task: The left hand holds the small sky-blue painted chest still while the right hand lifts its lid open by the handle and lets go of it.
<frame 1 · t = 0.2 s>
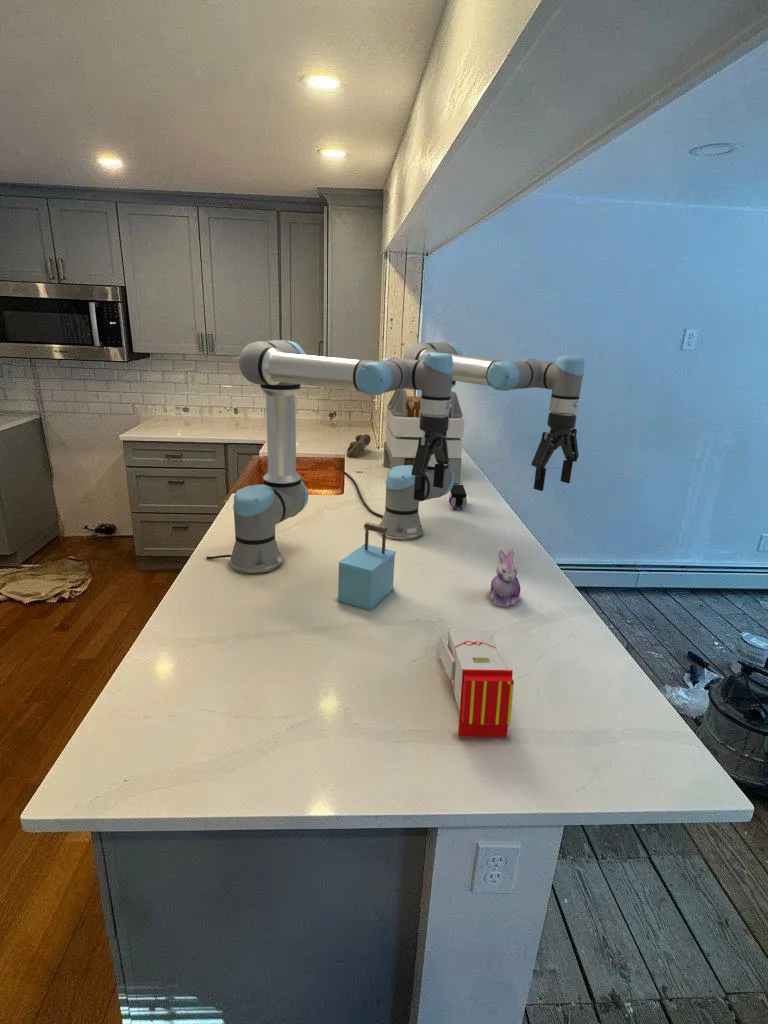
left hand: (428, 493, 154), 28 cm above the counter, tool pointing down, fingers open, 13 cm apart
right hand: (551, 485, 166), 28 cm above the counter, tool pointing down, fingers open, 13 cm apart
figurine: (504, 600, 157), on the counter
toy: (469, 691, 119), on the counter
white wooden crate: (419, 473, 275), on the counter
lid: (368, 544, 152), point 15 cm above the counter, hinge at 0.0°
chest: (366, 594, 157), on the counter
fossil: (358, 453, 307), on the counter
figurine character: (456, 506, 231), on the counter
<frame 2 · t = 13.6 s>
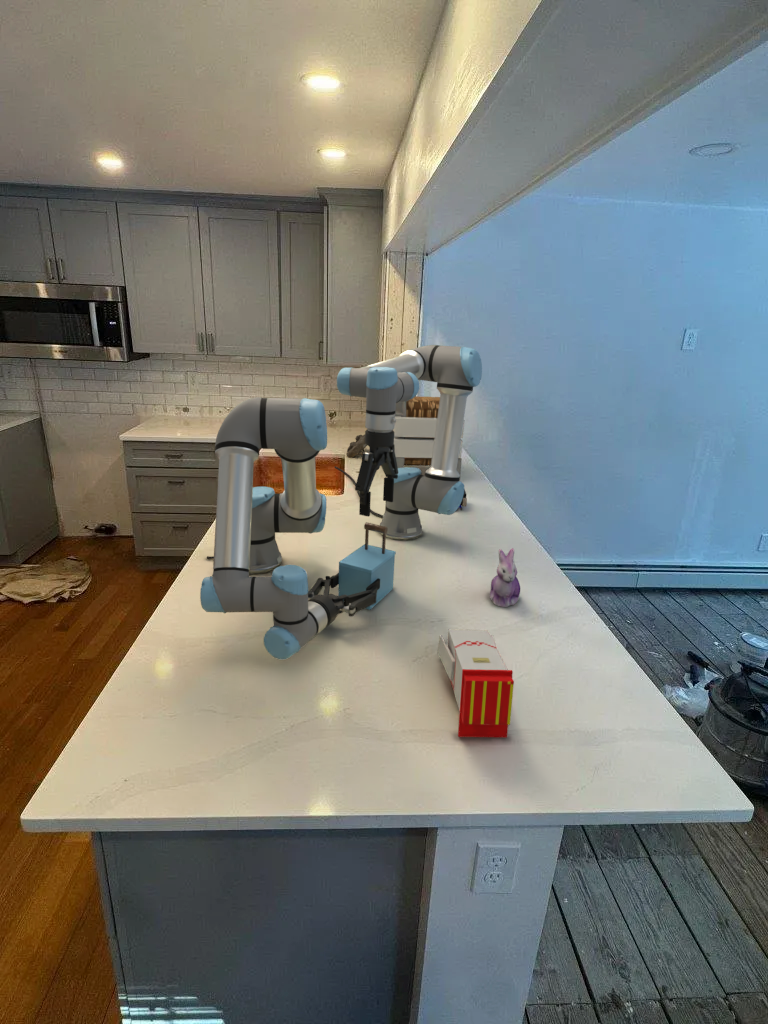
left hand: (361, 578, 152), 6 cm above the counter, tool horizontal, fingers closed on chest, 10 cm apart
right hand: (376, 508, 152), 24 cm above the counter, tool pointing down, fingers open, 13 cm apart
chest: (366, 594, 157), on the counter, touching left hand
everything else where it was.
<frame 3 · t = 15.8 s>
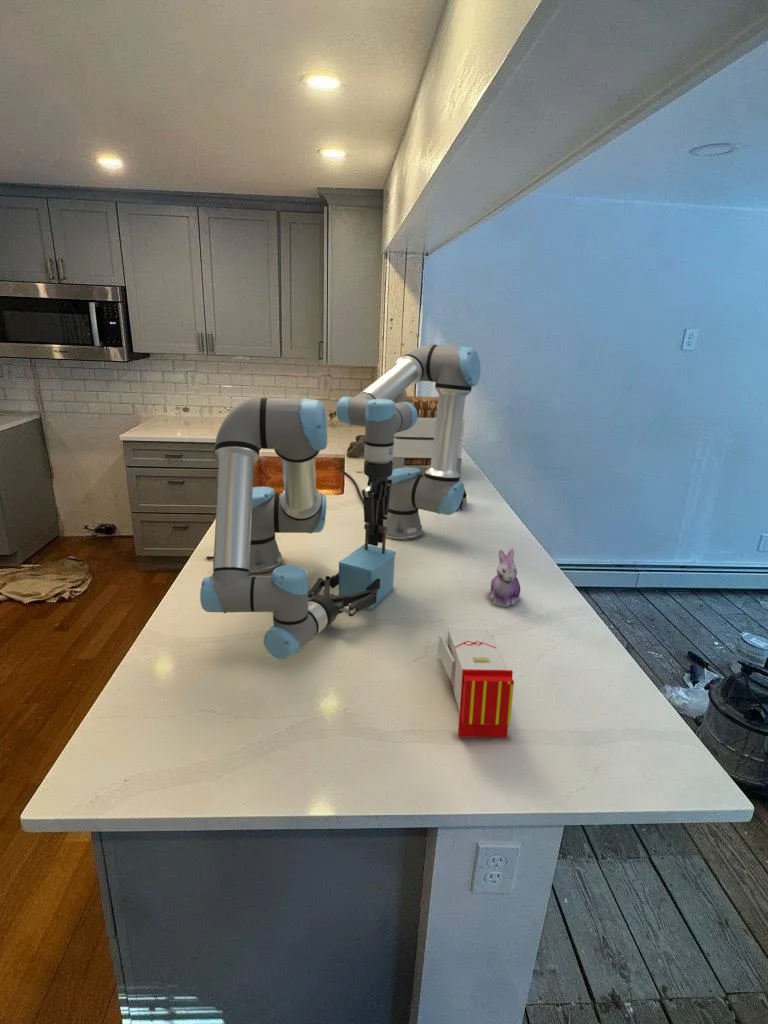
left hand: (361, 578, 152), 6 cm above the counter, tool horizontal, fingers closed on chest, 10 cm apart
right hand: (375, 543, 156), 14 cm above the counter, tool pointing down, fingers closed on lid, 2 cm apart
lid: (368, 544, 152), point 15 cm above the counter, hinge at -0.1°, touching right hand
chest: (366, 594, 157), on the counter, touching left hand
everything else where it was.
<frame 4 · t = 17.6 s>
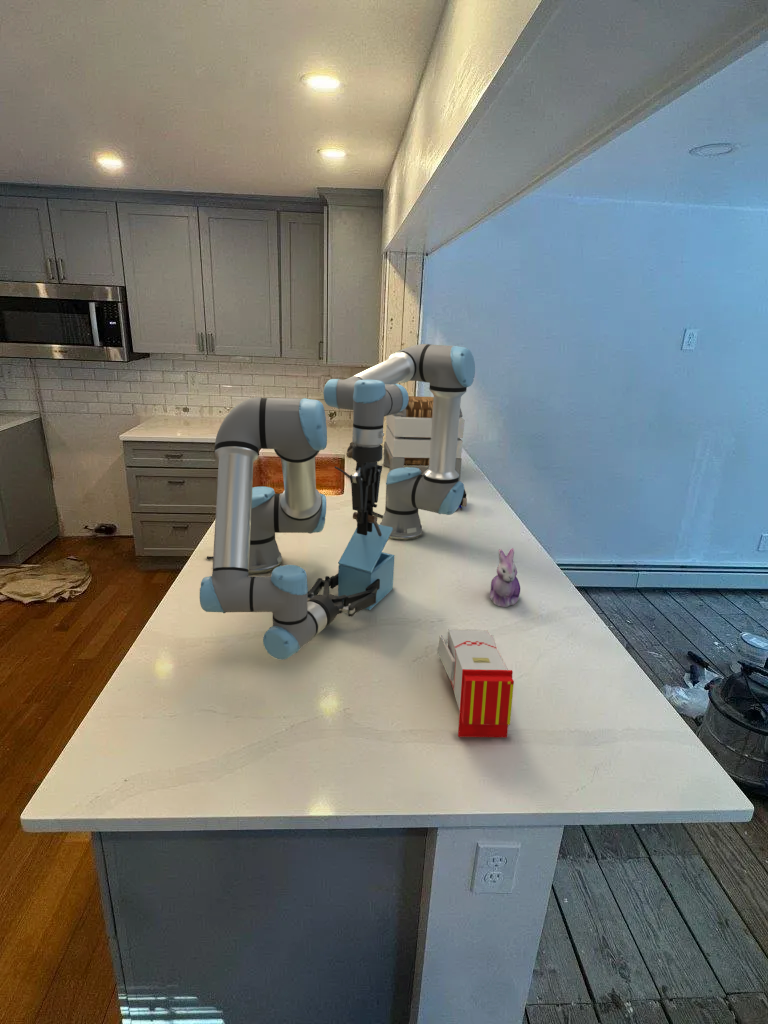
left hand: (361, 578, 152), 6 cm above the counter, tool horizontal, fingers closed on chest, 10 cm apart
right hand: (364, 532, 148), 19 cm above the counter, tool pointing down, fingers closed on lid, 2 cm apart
lid: (362, 537, 147), point 18 cm above the counter, hinge at 35.1°, touching right hand
chest: (366, 594, 157), on the counter, touching left hand
everything else where it was.
when the left hand's fingers open (6 cm above the counter, at t = 23.0 s): chest stays where it is, on the counter.
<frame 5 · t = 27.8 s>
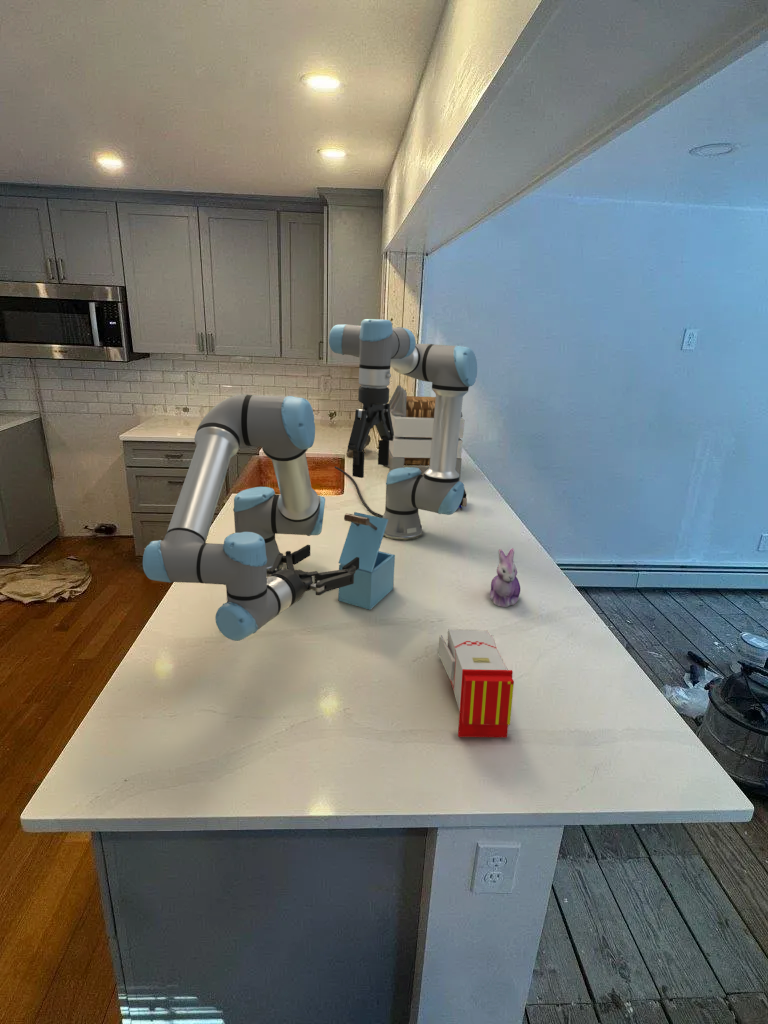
left hand: (333, 556, 135), 19 cm above the counter, tool horizontal, fingers open, 13 cm apart
right hand: (371, 470, 145), 36 cm above the counter, tool pointing down, fingers open, 13 cm apart
lid: (357, 537, 145), point 19 cm above the counter, hinge at 56.0°
chest: (366, 594, 157), on the counter
everything else where it was.
at the end: lid at +56° (first picture: +0°); the left hand is holding nothing; the right hand is holding nothing; chest tilted 0°; chest never tilted more than 1° during the clip; chest moved 0.1 cm from its start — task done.
